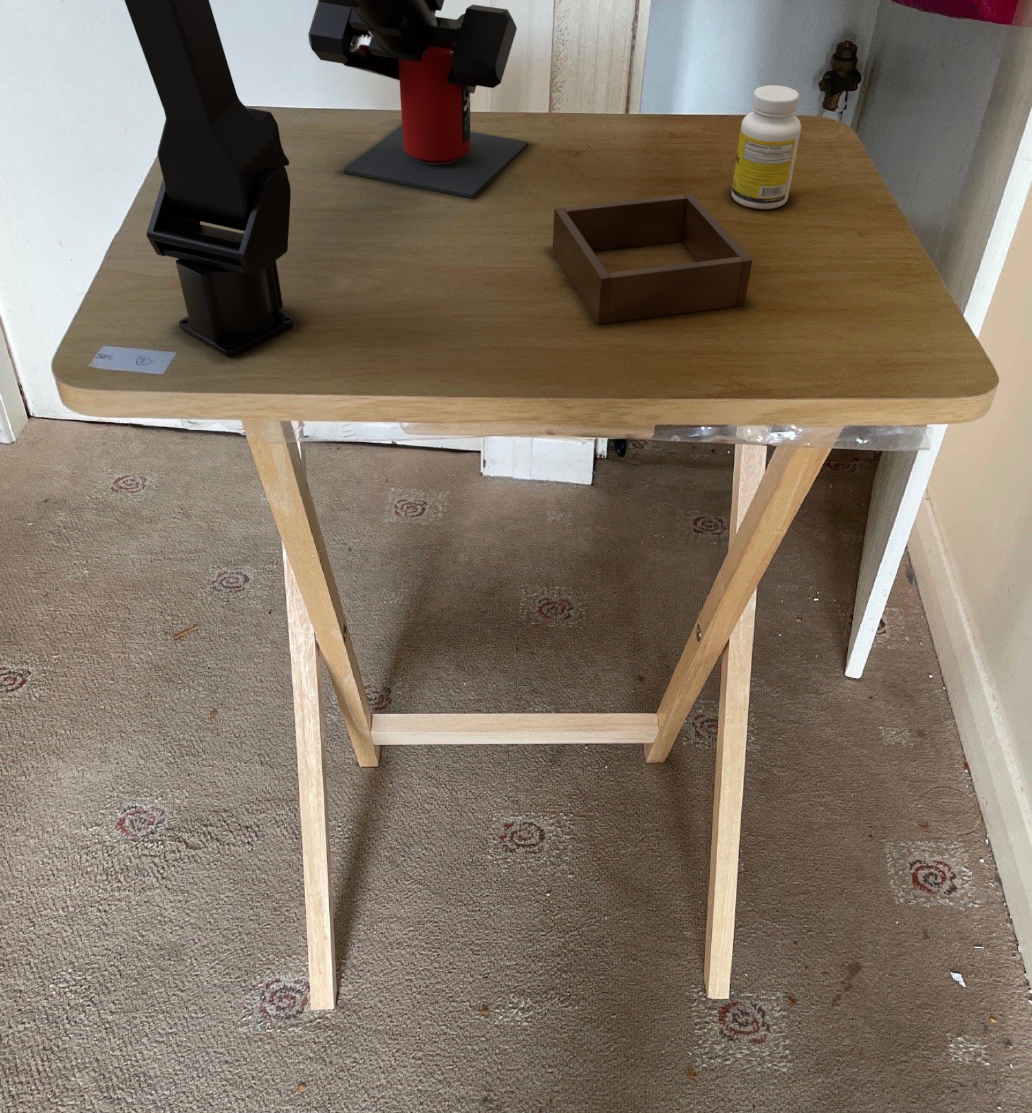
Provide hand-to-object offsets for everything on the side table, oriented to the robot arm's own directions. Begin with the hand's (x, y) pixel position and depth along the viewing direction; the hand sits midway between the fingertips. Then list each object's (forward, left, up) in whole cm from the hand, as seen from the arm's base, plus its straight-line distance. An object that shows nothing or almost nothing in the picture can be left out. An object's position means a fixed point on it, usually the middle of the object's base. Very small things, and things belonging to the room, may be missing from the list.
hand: (441, 82), depth 101 cm
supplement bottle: (+13, -29, -7) cm, 33 cm away
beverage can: (-1, 0, -7) cm, 7 cm away
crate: (-7, -30, -7) cm, 32 cm away
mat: (-1, 0, -7) cm, 7 cm away
